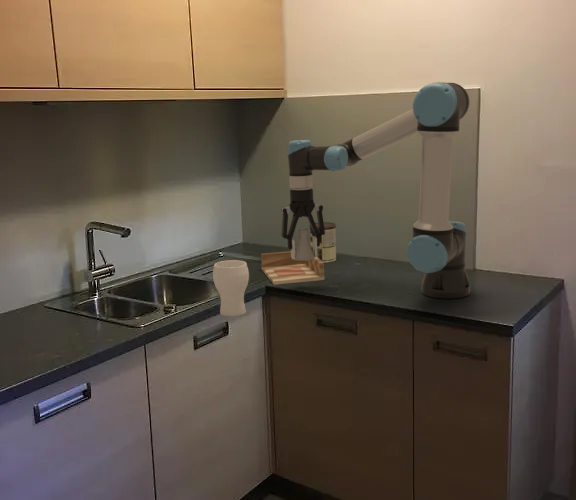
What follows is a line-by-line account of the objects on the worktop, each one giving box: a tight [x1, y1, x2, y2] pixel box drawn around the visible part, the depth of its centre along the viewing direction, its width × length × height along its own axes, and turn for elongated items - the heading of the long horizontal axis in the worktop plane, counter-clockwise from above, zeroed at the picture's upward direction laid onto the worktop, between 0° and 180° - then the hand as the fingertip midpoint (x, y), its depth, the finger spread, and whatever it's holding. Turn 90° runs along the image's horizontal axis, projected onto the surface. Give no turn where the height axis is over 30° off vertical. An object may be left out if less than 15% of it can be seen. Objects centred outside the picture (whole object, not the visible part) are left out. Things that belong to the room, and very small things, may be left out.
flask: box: [295, 228, 315, 261], centre depth 219 cm, size 7×7×10 cm
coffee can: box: [308, 221, 337, 264], centre depth 258 cm, size 10×10×14 cm
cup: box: [212, 259, 250, 317], centre depth 197 cm, size 11×11×15 cm
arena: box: [260, 250, 325, 286], centre depth 239 cm, size 22×18×6 cm
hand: (304, 257), depth 220 cm, fingers closed on flask, 7 cm apart
